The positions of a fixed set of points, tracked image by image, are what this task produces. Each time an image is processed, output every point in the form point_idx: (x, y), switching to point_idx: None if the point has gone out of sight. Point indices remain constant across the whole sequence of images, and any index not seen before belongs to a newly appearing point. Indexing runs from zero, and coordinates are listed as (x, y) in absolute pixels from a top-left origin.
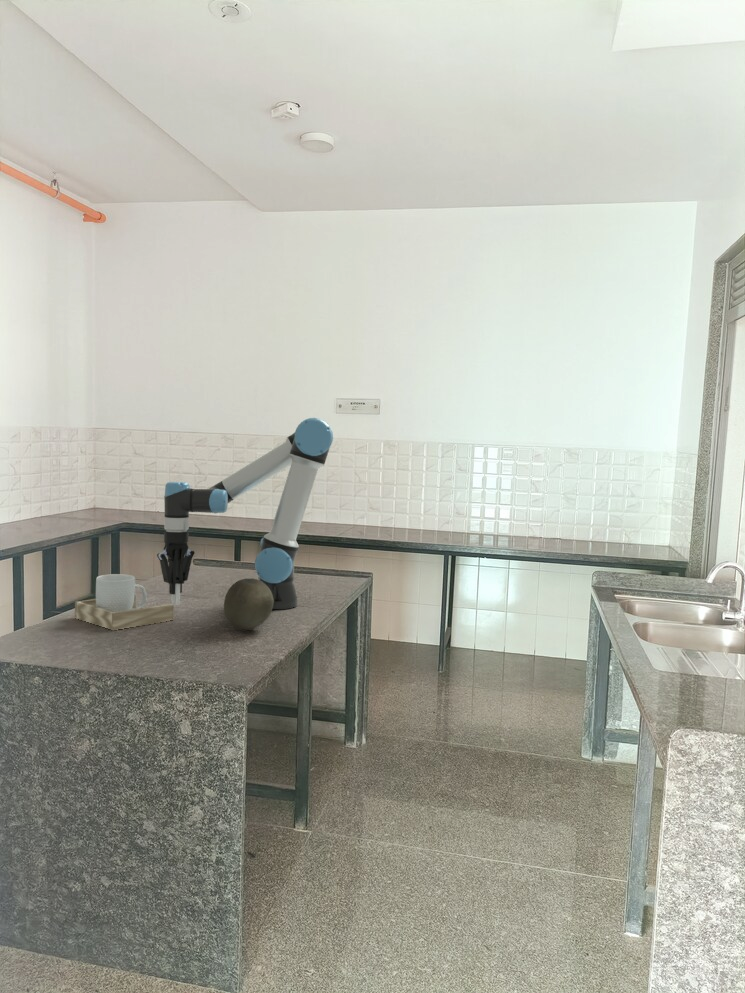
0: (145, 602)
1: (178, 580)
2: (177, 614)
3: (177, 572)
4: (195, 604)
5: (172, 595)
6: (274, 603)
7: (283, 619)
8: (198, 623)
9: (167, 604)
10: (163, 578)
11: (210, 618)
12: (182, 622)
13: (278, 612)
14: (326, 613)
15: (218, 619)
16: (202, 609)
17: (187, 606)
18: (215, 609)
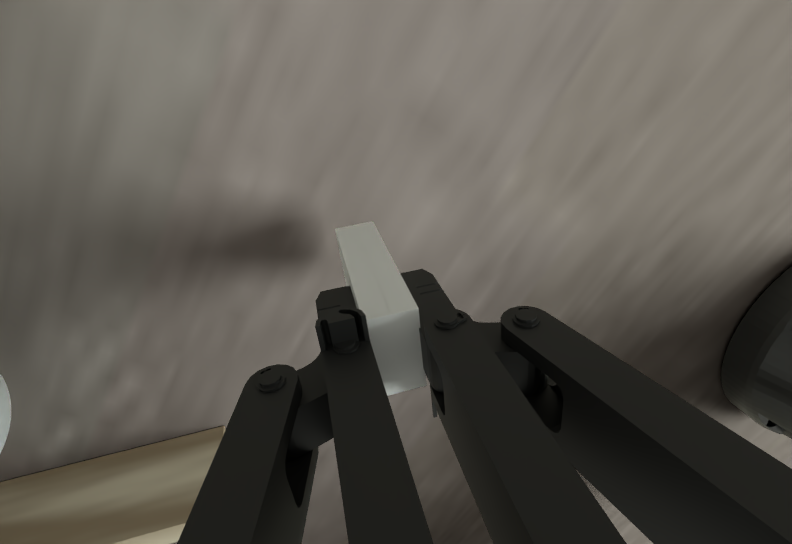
0: (9, 423)
1: (437, 380)
2: None
3: (468, 448)
4: (584, 99)
5: (347, 279)
6: (755, 421)
7: (618, 525)
8: (320, 510)
9: (172, 530)
10: (233, 418)
11: (420, 451)
12: None
13: None
14: None
15: (438, 474)
16: (516, 264)
17: (501, 133)
18: (568, 295)
